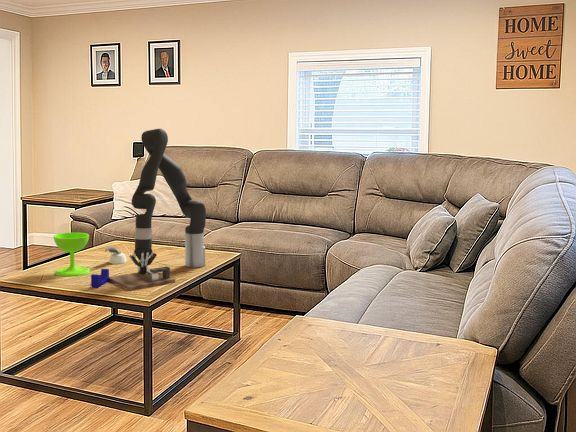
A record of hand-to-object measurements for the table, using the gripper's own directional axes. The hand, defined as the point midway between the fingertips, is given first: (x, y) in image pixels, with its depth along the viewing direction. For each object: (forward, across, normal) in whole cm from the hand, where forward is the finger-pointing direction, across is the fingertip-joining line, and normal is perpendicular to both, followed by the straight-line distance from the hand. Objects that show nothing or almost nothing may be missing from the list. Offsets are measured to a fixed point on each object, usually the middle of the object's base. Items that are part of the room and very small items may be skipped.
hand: (142, 274), depth 287 cm
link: (+1, -3, -2) cm, 4 cm away
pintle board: (+3, +1, 0) cm, 3 cm away
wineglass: (+4, +21, -33) cm, 39 cm away
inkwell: (+3, -3, -39) cm, 39 cm away
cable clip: (+4, +18, -6) cm, 20 cm away
